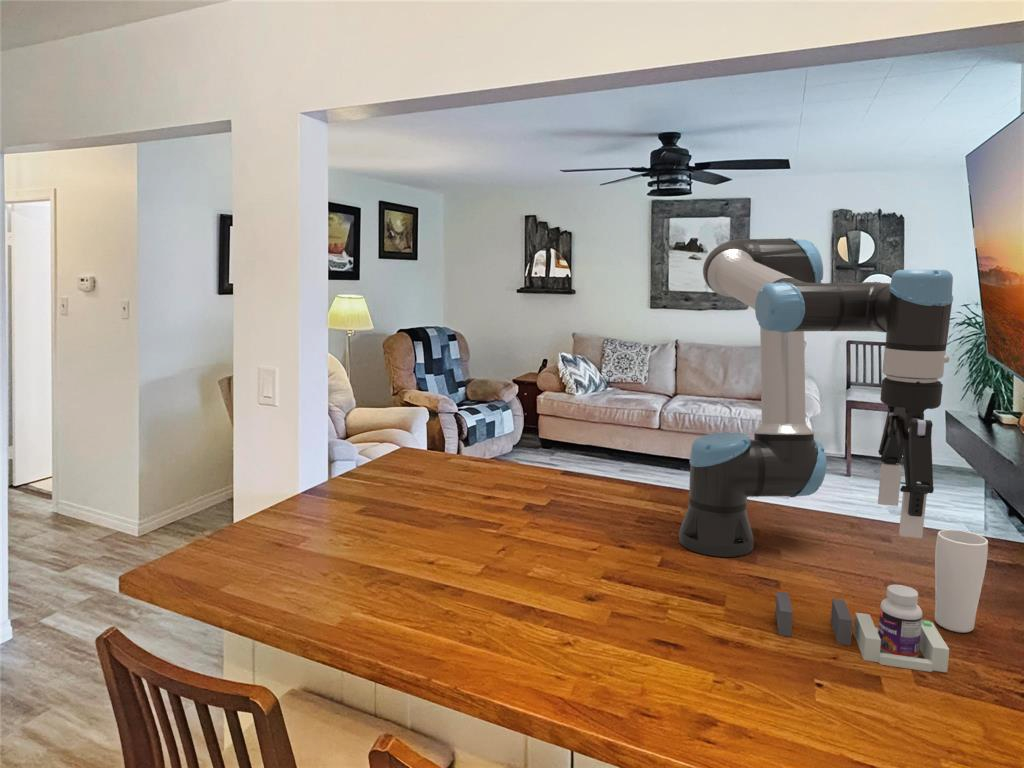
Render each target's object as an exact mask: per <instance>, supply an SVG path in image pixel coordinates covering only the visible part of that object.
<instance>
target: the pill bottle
mask: <svg viewBox="0 0 1024 768" xmlns="http://www.w3.org/2000/svg"><path fill="white" fill-rule="evenodd" d="M918 603H919V592H918V591H917V590H916V589H914V588H913V587H911V586H907V585H903V584H890V585H887V588H886V598H884V599H883V600H881V602H880V606H879V617H878V618H879V619H878V627H877V628H878V634H879V637H880V639H881V646H880V653H887V654H894V655H901V656H907V657H914V658H919V657H918V656H919V652H920V649H919V645H920V635H921V624H922V620H923V610H922V609H921V607H920V606H919V605H918Z"/></svg>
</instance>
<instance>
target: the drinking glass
mask: <svg viewBox="0 0 1024 768" xmlns="http://www.w3.org/2000/svg"><path fill="white" fill-rule="evenodd" d="M988 550H989V540H988V539H987V538H986V537H984V536H982V535H980V534H977V533H975V532H972V531H971V532H970V531H965V530H961V529H942V530H939V531H937V537H936V543H935V553H934V555H935V556H934V574H935V575H934V578H935V579H934V581H935V582H934V583H935V587H934V589H935V592H934V593H935V594H934V596H935V598H934V601H935V604H934V605H935V610H934V621H935V623H936V624H938V626H940V627H942V628H944V629H946V630H948V631H950V632H955V633H963V634H964V633H970V632H971V631H973V630H974V629H975V622H976V616H977V613H978V612H977V611H978V607H979V600H980V596H981V592H982V588H983V583H984V578H985V573H986V570H987V569H986V568H987V562H988Z"/></svg>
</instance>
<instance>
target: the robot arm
mask: <svg viewBox="0 0 1024 768" xmlns="http://www.w3.org/2000/svg"><path fill="white" fill-rule="evenodd" d="M823 264H824V263H823V259H822V256H821V253H820V251H819V249H818V248H817V246H815V244H814V243H813V242H812V241H810V240H806V239H795V238H790V237H788V238H737V239H732V240H729V241H726V242H723V243H721V244H720V245H718V246H716V247H715V248H713V250H712V251H710V252H709V254H708V255H707V257H706V258H705V261H704V263H703V266H702V275H703V276H702V277H703V279H704V282H705V284H706V285H707V287H709V288H710V290H711V291H713V292H714V293H716V294H717V295H719V296H722V297H729V298H732V297H733V298H734V299H736V300H738V301H739V302H741V303H743V304H744V305H746V306H747V307H748V308H749V307H750V308H751V309H753V310H754V311H755V312H754V313H755V319H756V321H757V322H758V325H759V329H760V333H759V334H760V335H759V336H760V382H761V383H760V390H761V391H760V395H761V396H760V397H761V400H760V403H761V405H760V406H761V424H760V425H759V426H758V427H757V428H756V430H754V432H753V434H754V435H753V436H754V437H753V438H754V439H753V440H751V439H750V437H749V435H747V434H744V433H740V432H717V433H716V432H715V433H709V434H706V435H705V434H704V435H701V436H699V437H698V438H697V439H695V440H694V441H693V442H692V444H691V451H690V457H689V466H690V467H689V490H688V491H689V492H688V493H689V494H688V496H689V497H688V506H687V510H686V512H685V515H684V517H683V520H682V522H681V525H680V527H679V534H678V537H679V538H678V541H679V543H680V545H681V546H683V547H684V548H686V549H688V550H690V551H691V552H695V553H698V554H701V555H706V556H710V557H711V556H712V557H720V558H729V557H730V558H732V557H741V556H745V555H748V554H749V553H751V552H753V550H754V543H755V542H754V540H755V539H754V538H755V537H754V534H753V530H752V527H751V523H750V520H749V517H748V514H747V503H748V502H747V501H748V497H757V498H758V497H764V498H765V497H788V498H796V497H804V496H805V497H806V496H811V495H814V494H815V493H816V492H817V491H818V490H819V488H820V487H821V486H822V484H823V482H824V480H825V477H826V472H827V460H828V459H827V454H826V452H825V448H824V446H823V444H822V443H821V442H820V441H818V440H816V439H815V438H814V437H815V435H814V433H815V432H814V431H813V430H812V429H811V428H810V427H809V426H808V425H807V424H806V371H805V369H806V368H805V367H806V366H805V363H806V362H805V360H806V359H805V332H875V333H876V332H877V333H878V332H879V333H886V335H885V344H884V351H883V360H882V361H883V362H882V363H883V364H882V373H883V374H884V375H885V376H886V377H884V378H883V379H881V389H880V398H879V399H880V401H881V403H882V404H883V405H885V406H887V415H886V419H885V423H884V428H883V431H882V436H881V439H880V444H879V449H878V455H879V456H880V461H881V464H880V465H881V466H880V475H879V476H880V477H879V486H878V496H877V504H878V505H881V506H882V505H883V506H893V507H894V506H895V507H898V506H899V500H900V493H902V500H901V506H900V519H899V520H900V521H899V530H898V535H899V537H907V538H917V539H923V534H924V525H925V518H926V517H925V516H926V506H927V505H926V504H927V497H928V494H933V493H934V491H935V489H934V473H933V472H934V471H933V470H934V468H933V451H932V450H933V447H932V432H933V431H932V430H933V425H934V424H933V422H932V420H931V419H929V420H928V419H925V411H926V410H928V409H929V410H933V409H934V410H935V409H937V408H939V407H940V406H941V404H942V395H943V383H942V382H941V381H939V379H942V378H944V374H945V364H947V363H949V362H950V359H951V358H950V357H949V356H947V355H946V352H947V351H946V350H947V344H948V338H949V331H950V330H949V329H950V323H951V322H950V321H951V313H952V305H953V301H954V296H953V284H954V282H953V281H954V277H953V274H952V273H951V272H950V271H949V270H947V269H898V270H896V271H894V272H893V273H892V275H891V280H890V282H880V281H873V282H871V281H865V282H864V281H863V282H827V283H825V282H822V280H824V265H823ZM902 465H903V466H902ZM902 468H903V470H904V479H905V480H904V481H905V485H902V486H901V479H902V471H903V470H902Z"/></svg>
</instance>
